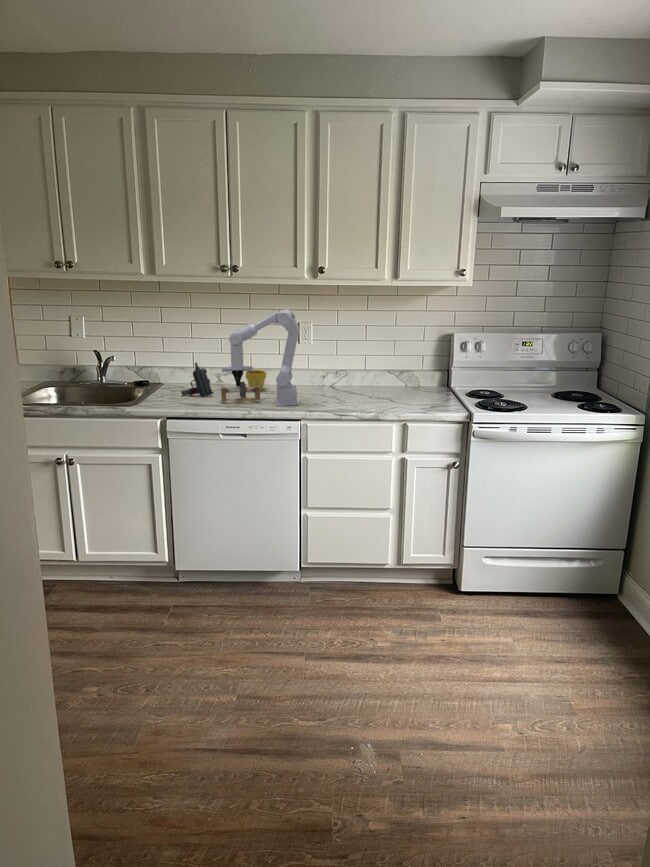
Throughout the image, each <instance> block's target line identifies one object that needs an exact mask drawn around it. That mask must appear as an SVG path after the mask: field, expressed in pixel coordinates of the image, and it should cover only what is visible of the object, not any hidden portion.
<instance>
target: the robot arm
mask: <svg viewBox="0 0 650 867" xmlns="http://www.w3.org/2000/svg"><path fill="white" fill-rule="evenodd" d="M271 324H273V325H274V324H275V325H277V324H279V325H281V326H282V327H284V329H285V330H286V332H287V338H286V342H285V347H284V352H283V357H282V362H281V366H280V368H279V369H280V370H279V373H278V374H277V376H276V379H275V381H276V400H275V401H274V403H275V405H276V406H277V407H280V406H281V407H286V406H298V404H297V403H298V398H297V396H298V392H297V390H298V389H297V385H293V384H292V382H291V381H292V379H293V373H292V370H293V363H294V358H295V352H296V347H297V342H298V338H299V334H300V327H299V325H298V321H297V319H296V315H295V314H294V313H293V311H292V310H290V309H288V308H284V309H282V310H281V311H276V312H275V313H272V314H270V315H268V316H267V317H265V318H262V320H260V321H259V322H256V323H255V324H253V323H247V324H245V326H244V327H242V328H240V329H236V331H235V332H232V334H230V335H229V337H228V340H229V343H230V366H223V367H221V373H226V372H231V374H232V376H233V378H234V381H235V385H236V387H239V385H240V382H241V380H242V377H243V375H244V372H246V371H253V370H254V366H253V365H252V366H248V365H247V366H245V365H244V348H243V347H244V346H243V342H246V341H247V340H249V339H251V338H253V337H255V336H257V334H258V331H259V330H261V329H263V328H265V327H267V326H269V325H271Z"/></svg>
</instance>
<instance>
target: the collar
mask: <svg viewBox="0 0 650 867" xmlns="http://www.w3.org/2000/svg"><path fill="white" fill-rule="evenodd" d="M246 385H247V384H246V382H245V381H240V385H239V387H240V392H239V396H240V397H239V398H246V397H247V392H246V387H247V386H246Z"/></svg>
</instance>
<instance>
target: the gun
mask: <svg viewBox="0 0 650 867" xmlns="http://www.w3.org/2000/svg"><path fill="white" fill-rule="evenodd" d="M194 365H195V368H194V370H193V372H192V378H193V379H192V380H191V381H190V386H191V387H190V388H188V389H185V390H184V389H183V390H181V391H180V392H181V396H182V397H185V396H188V395H189V396H190V397H192V396H193V395H199V396H200V397H201V398H203V397H207V396H211V395H214V391H212V386H211V384H210V383H211V379H210V378H208V375H207V373H208V371H207V369H206V368H205V367H203V368H202V367H201V368H200V366H199V365H198V362H197V361H196V362H194ZM193 382H194V383H195V384H194V383H193ZM194 386H195V387H194Z"/></svg>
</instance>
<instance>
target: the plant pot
mask: <svg viewBox="0 0 650 867" xmlns="http://www.w3.org/2000/svg"><path fill="white" fill-rule="evenodd" d="M266 378H267V371H265V370H262V369H253V371H245V379H246V380H247V384H248V387H255V386H259V387H260V392H262V391H263V390H264V385H265V380H266Z"/></svg>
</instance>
